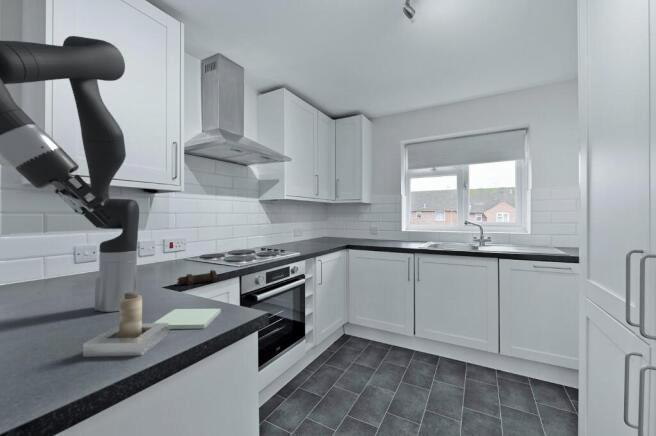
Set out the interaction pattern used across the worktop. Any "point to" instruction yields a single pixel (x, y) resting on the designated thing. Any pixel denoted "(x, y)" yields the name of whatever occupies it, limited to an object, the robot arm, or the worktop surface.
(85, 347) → the grey square frame
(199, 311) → the set down board
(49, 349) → the worktop surface
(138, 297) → the key peg
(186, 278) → the bolt
